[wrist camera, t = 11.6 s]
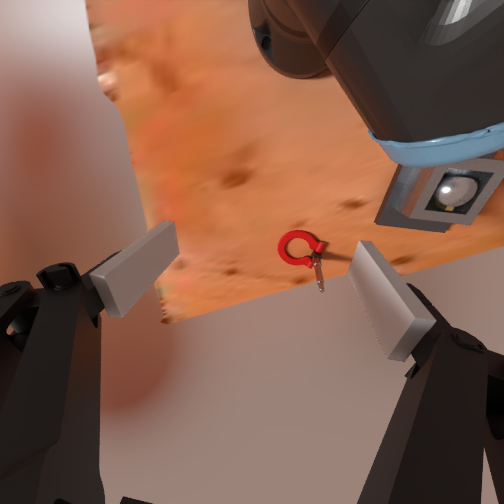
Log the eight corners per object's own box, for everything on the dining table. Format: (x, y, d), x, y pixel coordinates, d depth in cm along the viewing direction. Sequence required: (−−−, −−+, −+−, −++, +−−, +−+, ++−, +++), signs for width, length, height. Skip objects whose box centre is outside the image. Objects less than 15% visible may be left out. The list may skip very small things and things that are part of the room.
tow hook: (272, 255, 46) (310, 268, 46) (266, 291, 35) (315, 309, 35) (286, 223, 42) (327, 238, 42) (283, 253, 31) (339, 273, 31)
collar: (419, 152, 31) (441, 154, 26) (482, 158, 30) (515, 161, 26) (393, 208, 35) (409, 217, 31) (447, 214, 35) (470, 225, 30)
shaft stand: (415, 124, 30) (447, 122, 24) (500, 131, 29) (555, 130, 23) (374, 221, 39) (390, 237, 33) (439, 229, 38) (468, 247, 32)
